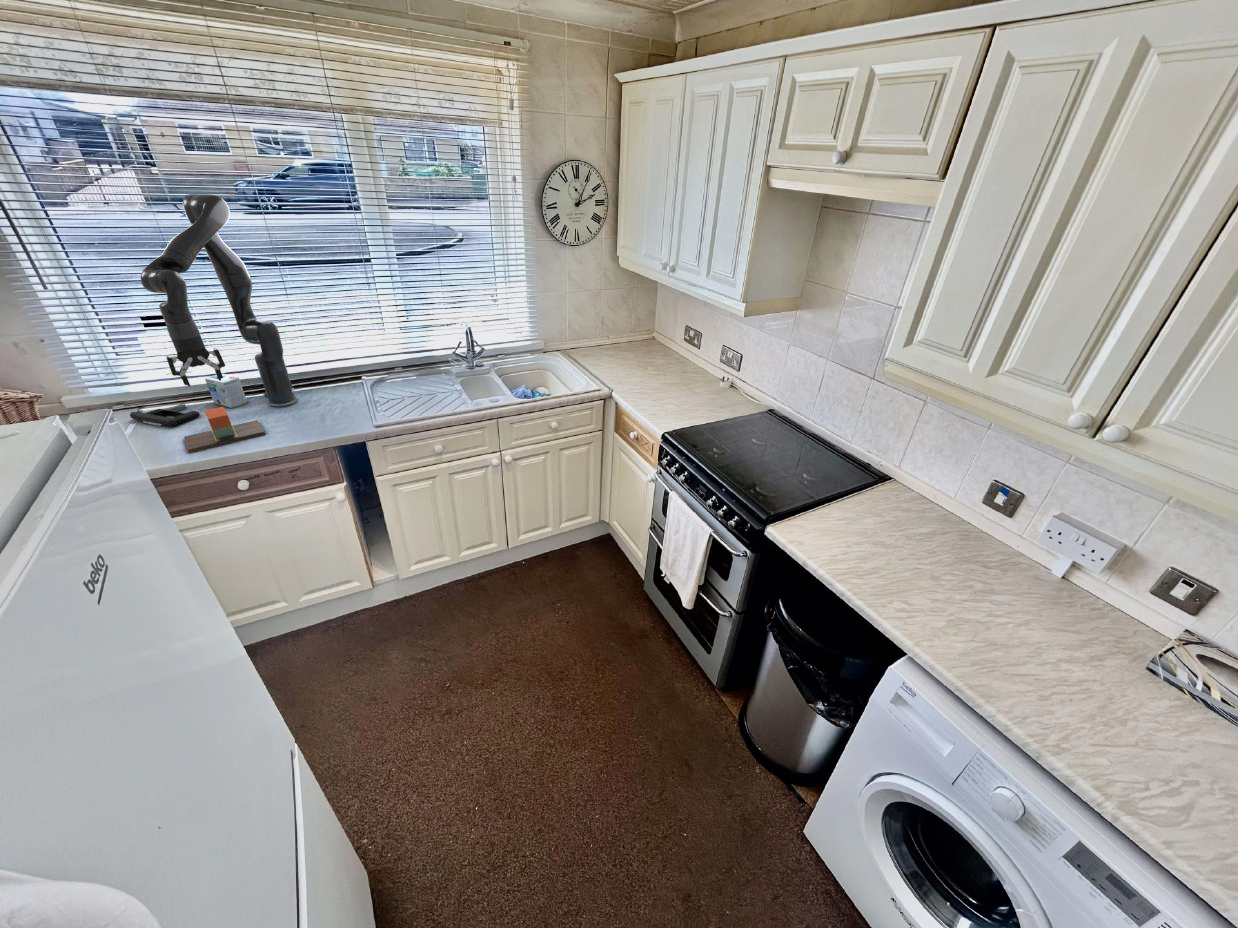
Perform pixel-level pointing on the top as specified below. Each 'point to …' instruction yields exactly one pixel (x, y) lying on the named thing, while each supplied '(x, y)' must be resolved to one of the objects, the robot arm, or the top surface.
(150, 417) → the black rectangular frame
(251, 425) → the jig board
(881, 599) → the top surface
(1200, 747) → the top surface
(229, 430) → the green block with hole
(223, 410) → the orange block
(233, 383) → the light bulb box
